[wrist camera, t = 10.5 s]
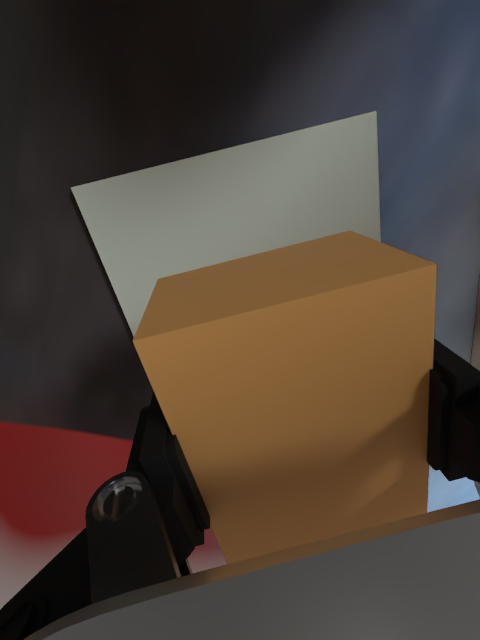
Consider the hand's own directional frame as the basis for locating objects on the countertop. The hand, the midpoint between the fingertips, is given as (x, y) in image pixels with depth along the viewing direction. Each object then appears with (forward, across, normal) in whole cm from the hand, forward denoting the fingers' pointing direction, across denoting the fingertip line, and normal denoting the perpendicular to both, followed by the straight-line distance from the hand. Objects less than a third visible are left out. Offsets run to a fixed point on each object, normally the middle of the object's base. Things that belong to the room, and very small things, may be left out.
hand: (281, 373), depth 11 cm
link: (+1, 0, +4) cm, 4 cm away
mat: (+8, 0, +4) cm, 9 cm away
